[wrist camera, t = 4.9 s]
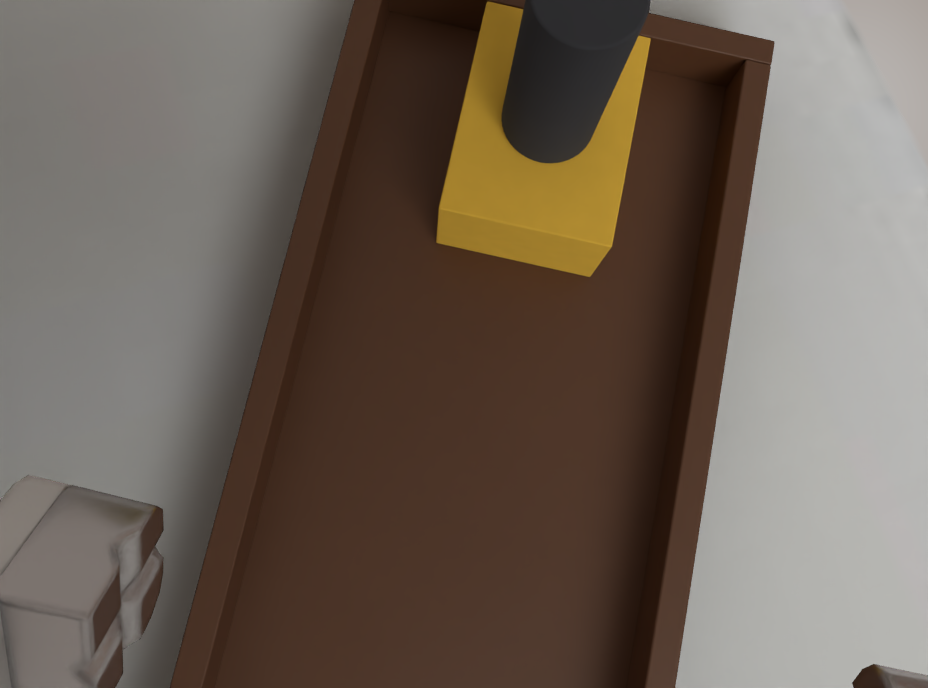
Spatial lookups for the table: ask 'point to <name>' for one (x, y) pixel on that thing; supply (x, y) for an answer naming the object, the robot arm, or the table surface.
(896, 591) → the table surface
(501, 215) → the yellow block with peg
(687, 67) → the tray
